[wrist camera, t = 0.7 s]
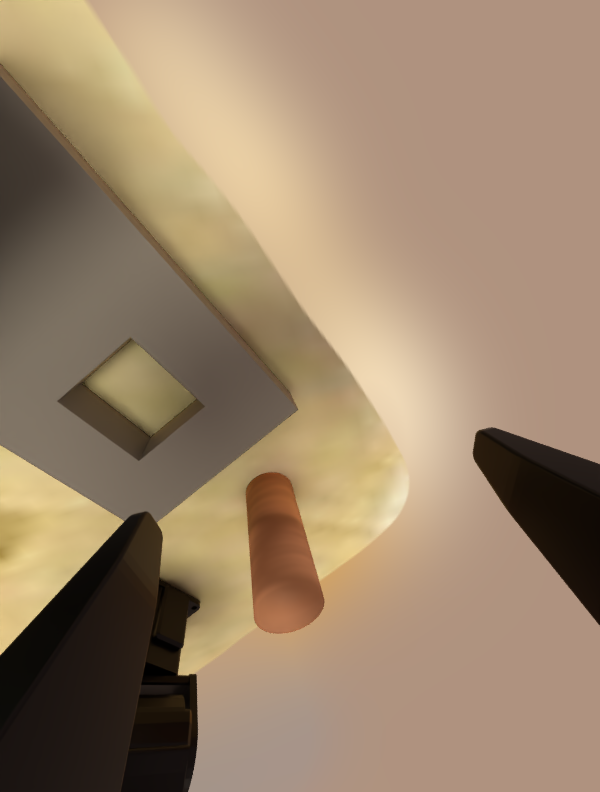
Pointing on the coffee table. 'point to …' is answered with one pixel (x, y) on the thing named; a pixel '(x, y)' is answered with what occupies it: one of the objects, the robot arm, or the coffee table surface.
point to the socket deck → (108, 333)
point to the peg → (280, 558)
